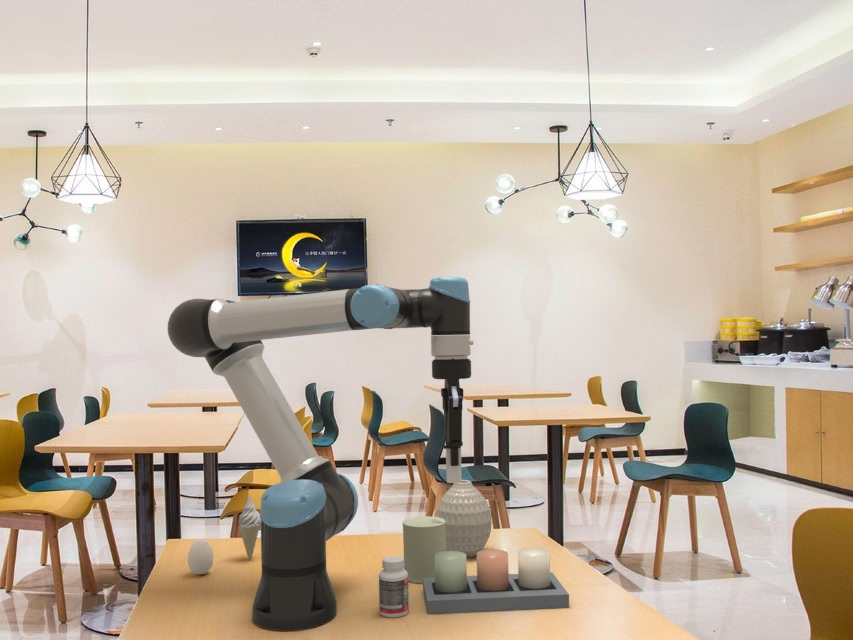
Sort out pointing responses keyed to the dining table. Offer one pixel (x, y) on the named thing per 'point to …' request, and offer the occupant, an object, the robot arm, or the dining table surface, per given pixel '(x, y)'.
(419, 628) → the dining table surface
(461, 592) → the board
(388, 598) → the pill bottle
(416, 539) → the can
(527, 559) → the cream cylinder
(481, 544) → the vase
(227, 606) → the dining table surface
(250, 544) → the ice cream cone
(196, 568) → the egg
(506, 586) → the pink cylinder
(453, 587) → the pale green round piece
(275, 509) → the robot arm
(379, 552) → the dining table surface
